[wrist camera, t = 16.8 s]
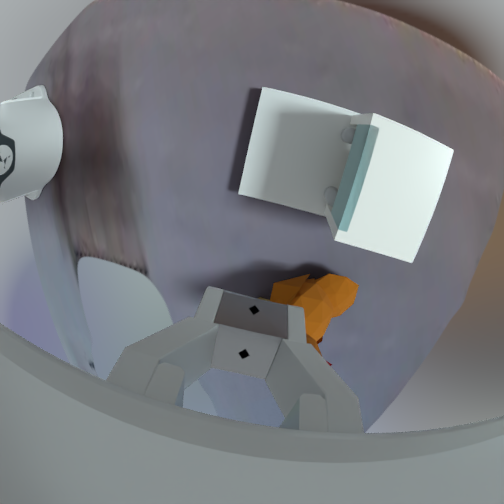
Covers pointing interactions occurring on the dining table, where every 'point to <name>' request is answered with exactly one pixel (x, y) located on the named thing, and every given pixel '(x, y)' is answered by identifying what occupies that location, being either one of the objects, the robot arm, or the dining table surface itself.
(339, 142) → the white peg base plate
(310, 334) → the toy
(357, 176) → the cover
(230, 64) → the dining table surface
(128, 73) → the dining table surface
